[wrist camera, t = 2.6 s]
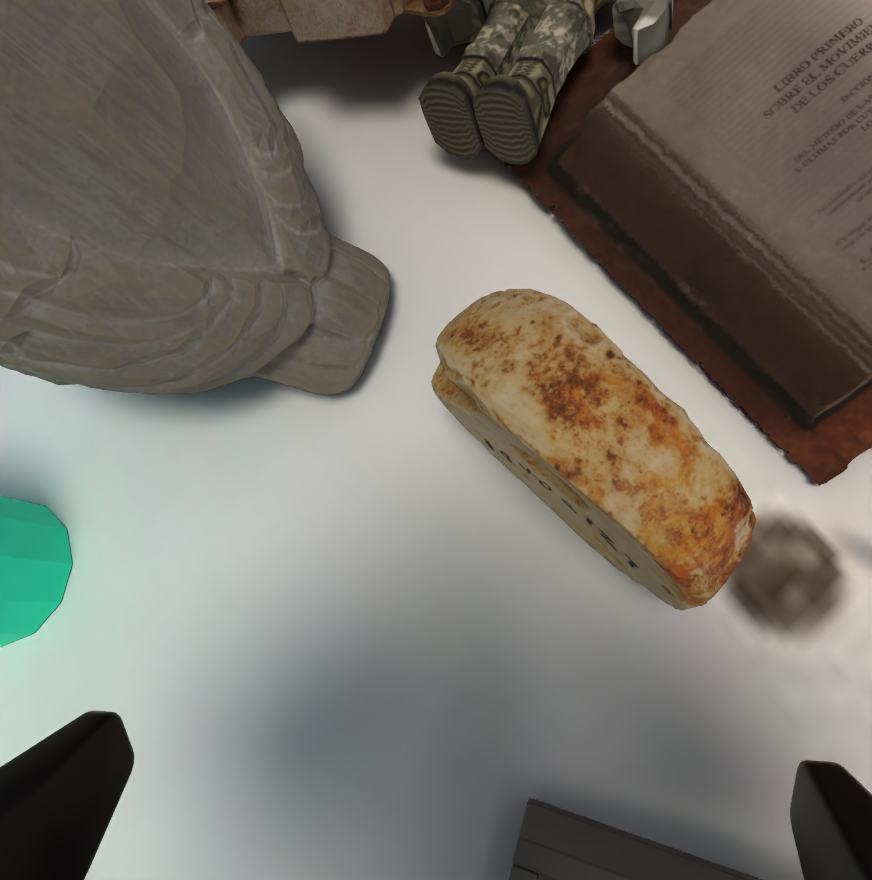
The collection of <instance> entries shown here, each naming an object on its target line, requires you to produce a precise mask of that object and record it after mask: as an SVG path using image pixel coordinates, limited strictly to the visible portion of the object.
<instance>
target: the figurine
mask: <svg viewBox="0 0 872 880" xmlns="http://www.w3.org/2000/svg"><path fill="white" fill-rule="evenodd" d="M389 293H390V274H389V271H388V269H387V268H386V266H385V265H384V264H383V263H382V262H381V261H380V260H378V259H377V258H376V257H374V256H373V255H371V254H369V253H368V252H366V251H364V250H362V249H360V248H358V247H355V246H353V245H351V244H349V243H347V242H344V241H342V240H340V239H338V238H335V237H333V236H332V235H330V234H329V233H327V231H326V228H325V226H324V223H323V220H322V216H321V214H320V212H319V203H318V200H317V198H316V194H315V191H314V189H313V187H312V185H311V183H310V181H309V179H308V177H307V175H306V172H305V170H304V166H303V154H302V150H301V146H300V143H299V141H298V139H297V136H296V134H295V132H294V130H293V128H292V126H291V124H290V123H289V122H288V120H287V119H286V118H285V116H284V115H283V114H282V112H281V111H280V109H279V107H278V104H277V102H276V100H275V98H274V97H273V95H272V94H271V93H270V92H269V90H268V89H267V87H266V84H265V81H264V79H263V76H262V75H261V74H260V72H259V71H258V69H257V68H256V67H255V65H254V64H253V62H252V61H251V59H250V58H249V57H248V55H247V54H246V52H245V51H244V50H243V48H242V47H241V45H240V44H239V43H238V41H237V40H236V38H235V37H234V36H233V35H232V34H231V32H230V31H229V30H228V29H227V28H226V26H225V25H224V24H223V23H222V21H221V20H220V19H219V18H218V17H217V15H216V14H215V13H214V12H213V10H212V9H211V8H210V6H209V5H208V4H207V2H206V1H205V0H0V366H3V367H5V368H8V369H11V370H16V371H19V372H21V373H23V374H25V375H30V376H35V377H38V378H41V379H43V380H46V381H49V382H52V383H55V384H58V385H70V384H80V385H84V386H87V387H91V388H97V389H105V390H112V391H119V392H133V393H144V394H186V393H194V392H201V391H207V390H210V389H213V388H216V387H219V386H222V385H225V384H228V383H231V382H234V381H237V380H240V379H242V378H249V377H255V376H256V377H260V378H264V379H268V380H271V381H275V382H278V383H282V384H285V385H289V386H292V387H295V388H299V389H302V390H305V391H309V392H314V393H319V394H336V393H342V392H344V391H346V390H348V389H350V388H351V387H352V386H353V385H354V383H355V382H356V381H357V380H358V379H359V378H360V376H361V374H362V373H363V371H364V367H365V364H366V362H367V360H368V358H369V356H370V354H371V352H372V348H373V344H374V342H375V340H376V338H377V336H378V334H379V331H380V328H381V325H382V322H383V319H384V316H385V313H386V309H387V305H388V300H389Z"/></svg>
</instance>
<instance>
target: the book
mask: <svg viewBox="0 0 872 880" xmlns="http://www.w3.org/2000/svg"><path fill="white" fill-rule="evenodd" d="M601 39H602V40H601V41H598V42H597V43H596V44H595V45H593V46H592V47H591V49H590V50H589V51H587V52H586V53H584V54H582V55H581V56H579V57H578V58H577V60H576V62H575V63H574V65H573V66H572V68H571V69H570V71H569V72H568V74H567V75H566V78H565V81H564V84H563V85H562V87H561V88H560V90H559V92H558V93H557V96H556V99H555V102H554V105H553V107H552V110H551V113H550V116H549V119H548V122H547V125H546V128H545V131H544V134H543V137H542V140H541V143H540V145H539V148H538V151H537V154H536V155H535V156H534V157H533V158H532V159H531V161H530V162H529V163H525V164H522V165H516V164H509V163H507V162H505V161H504V165H505V166H511V167H512V170H513V171H515V174H516V177H517V178H519V179H521V180H522V181H523V182H524V183H525V184H527V185H529V186H530V189H531V193H532V194H534V195H537V199H538V200H539V201H540V202H541V203H543V204H544V206H545V208H548V207H551V206H554V205H555V207H554V210H553V212H552V214H557V215H558V216H559V218H560V219H562V220H563V221H562V222H561V223H563V224H565V225H567V228H566V229H569V232H570V233H571V234H573V235H575V238H576V239H577V240H578V242H583V243H584V244H585V246H586V248H587V250H588V252H589V253H592V254H593V256H594V258H598V260H600V261H601V262H600V264H602V265H603V266H604V268H605V269H606V270H609V274H610V275H611V276H612V277H613V278H614V279H615V280H616V281H617V282H618V283H619V284H621V285H622V286H623V287H624V288H625V289H626V292H629V294H631V295H632V296H631V297H632V298H636V299H637V300H638V301H639V303H640V304H641V305H642V306H643V307H644V310H645V311H646V312H648V313H649V314H650V315H651V316H652V317H653V316H656V321H658V323H659V324H660V325H662V326H663V327H664V331H665V332H666V333H668V334H670V336H671V337H672V338H673V340H674V341H675V343H676V344H678V345H679V346H681V347H682V348H683V350H687V351H688V353H689V355H690V357H691V358H692V359H693V360H694V361H695V362H696V364H697V363H699V362H700V361H701V365H702V368H703V369H705V370H706V371H707V372H708V373H709V374H710V376H711V377H712V380H713V381H715V382H716V383H717V384H719V386H720V388H724V393H725V394H730V395H731V396H732V398H731V399H732V400H733V401H736V403H735V404H736V405H739V406H741V407H742V408H744V409H745V411H746V413H747V414H748V415H749V417H750V418H751V419H752V420H754V421H756V422H758V423H759V426H760V427H761V428H762V429H763V431H764V433H768V434H770V435H771V436H770V437H769V438H770V440H773V441H774V442H775V443H776V444H777V446H778V447H780V448H783V449H785V450H787V451H789V453H788V455H787V457H788V458H790V459H791V461H792V462H793V463H797V464H800V465H802V466H803V468H804V470H805V472H807V473H809V474H810V475H811V476H812V477H811V482H812V483H816V484H818V486H819V485H821V484H824V483H827V482H828V481H829V480H831V479H832V478H834V477H836V476H837V475H839V474H840V473H842V472H843V471H844V470H846V469H847V467H848V466H847V465H848V464H849V463H850V462H851V461H852V460H853V459H854V458H855V457H856V456H858V455H859V454H861V453H863V452H864V451H866V450H868V449H869V448H871V447H872V0H673V25H672V32H671V33H670V35H669V39H668V42H667V45H666V47H665V48H663V49H662V50H660V51H658V52H657V53H655V54H653V55H651V56H649V57H648V58H647V59H646V60H645V61H644V62H643V63H642V64H641V65H636V64H635V63H634V61H633V48H631V47H629V46H626V45H623V44H622V43H621V42H620V41H619V40H618V39H617V38H616V37H615V31H614V27H613V28H612V29H611V30H610V32H609V33H608V34H605V35H604V36H603V37H602V38H601ZM483 145H485V143H484V142H483ZM496 158H497V157H496ZM600 264H599V265H600Z"/></svg>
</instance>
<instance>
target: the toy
mask: <svg viewBox="0 0 872 880" xmlns="http://www.w3.org/2000/svg"><path fill="white" fill-rule="evenodd" d="M609 1H611V0H453V2H454V3H453V7H452V8H451V10H450V11H448V12H447V13H446V14H443V15H441V16H438V17H425V20H424V21H425V25H426V28H427V31H428V34H429V37H430V40H431V43H432V45H433V48H434V50H435V53H436V54H437V55H439V56H441V57H443V56H445V55H446V54H447V52H448V50H449V49H450V48H451V47H452V46H456V45H460V44H463V43H471V44H470V45H468V46H467V47H466V49H465V52H464V55H463V58H462V61H461V63H460V64H459V65H458V66H457V68H456V69H455V70H454V71H453V73H452V72H439V73H437V74H435V75H432V77H431V78H430V80H429V81H428V83H427V85H426V86H425V88H424V89H423V91H422V93H421V95H420V97H419V101H420V104H421V108H422V111H423V114H424V117H425V119H426V121H427V124H428V126H429V128H430V131H431V133H432V135H433V138H434V140H435V143H437V144H438V145H439V146H440V147H442V148H443V149H444V150H446V151H447V152H448V153H450V154H452V155H455V156H457V157H461V158H470V157H474V156H476V155H477V153H478V152H479V151H480V149H481V148H482V145H483V142H484V143H485V146H486V149H487V150H489V151H490V152H491V153H492V154H493V155H495V156H496V157H497V158H498V159H500V160H502V161H505V162H507V163H509V164H516V165H522V164H525V163H529V162H530V161H531V159H532V158H533V157H534V156H535V155H536V154H537V151H538V148H539V145H540V143H541V140H542V137H543V134H544V131H545V128H546V125H547V122H548V119H549V116H550V113H551V110H552V107H553V105H554V102H555V99H556V96H557V93H558V92H559V90H560V88H561V87H562V85H563V84H564V81H565V78H566V75H567V74H568V72H569V71H570V69H571V68H572V66H573V65H574V63H575V62H576V60H577V58H578V57H579V56H580V55H581V54H582V53H583V52H586V51H589V50H590V49H591V45H592V42H593V37H594V31H595V20H594V15H595V14H596V12H597V11H598V10H599V9H600V7H601V6H602V5H603V4H605V3H607V2H609ZM612 12H613V21H614V31H615V37H616V38H617V39H618V40H619V41H620V42H621V43H622V44H623V45H626V46H629V47H631V48H633V61H634V63H635V64H636V65H641V64H642V63H643V62H644V61H645V60H646V59H647V58H648V57H649V56H651V55H653V54H655V53H657V52H658V51H660V50H662V49H663V48H665V47H666V45H667V42H668V39H669V35H670V33H671V32H672V25H673V0H616V2H615V4H614V5H613V7H612Z"/></svg>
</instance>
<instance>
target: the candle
mask: <svg viewBox="0 0 872 880" xmlns="http://www.w3.org/2000/svg"><path fill="white" fill-rule="evenodd" d="M71 567H72V559H71V552H70V546H69V540H68V534H67V529H66V528H65V527H64V525H63V524H62V523H61V522H60V521H59V520H58V519H57V518H56V517H55V515H54V514H53V513H52V512H51V511H50V510H49V509H48V508H47V507H46V506H42V505H38V504H33V503H29V502H24V501H20V500H15V499H11V498H6V497H2V496H0V647H2V646H4V645H7V644H9V643H12V642H14V641H16V640H19V639H21V638H24V637H26V636H29V635H31V634H34V633H35V632H36V631H37V630H38V629H39V627H40V626H41V625H42V624H43V623H44V622H45V620H46V619H47V618H48V617H49V616H50V615H51V613H52V612H53V611H54V610H55V609H56V608H57V606H58V605H59V604H60V603H61V600H62V597H63V594H64V590H65V587H66V584H67V580H68V577H69V574H70V570H71Z"/></svg>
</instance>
